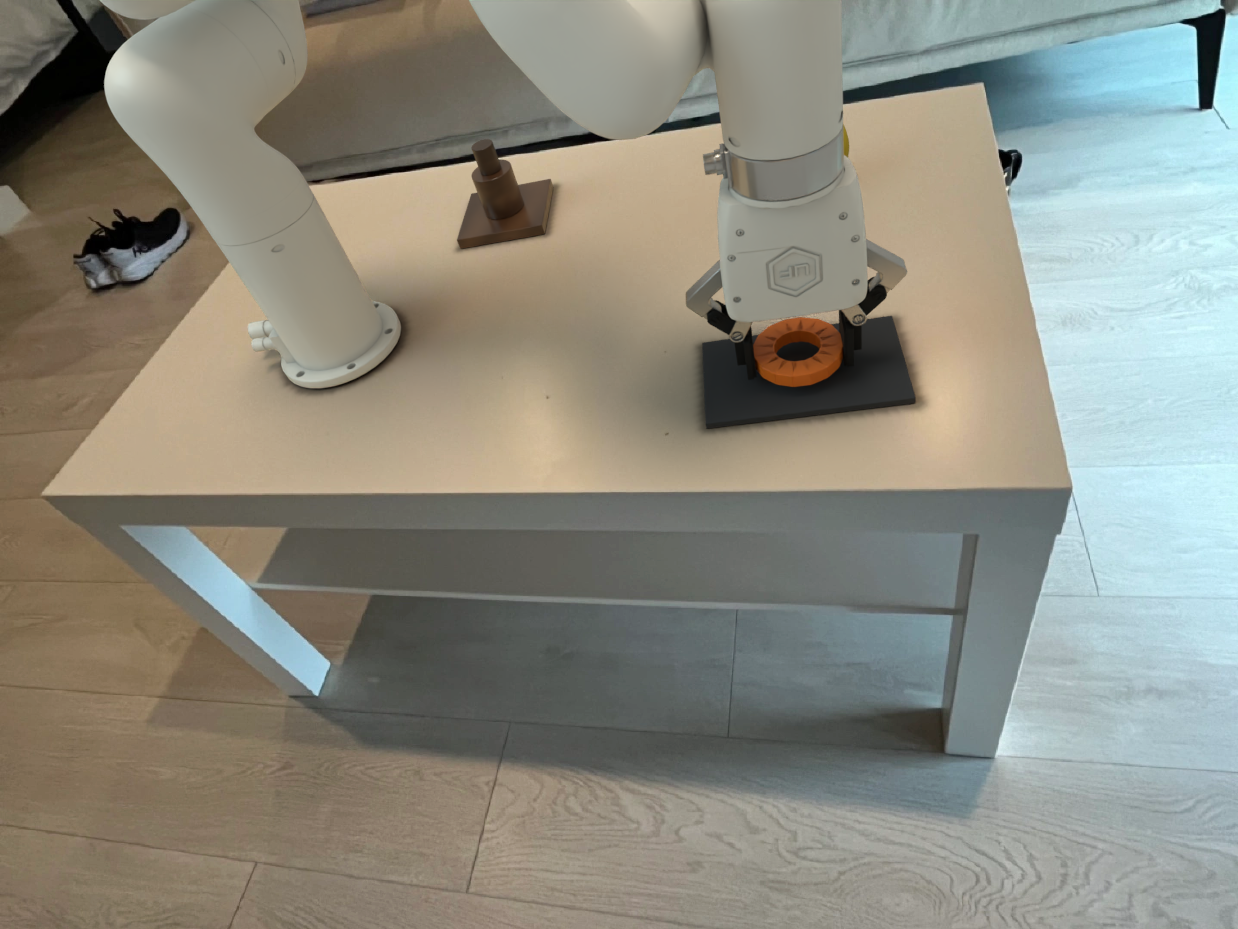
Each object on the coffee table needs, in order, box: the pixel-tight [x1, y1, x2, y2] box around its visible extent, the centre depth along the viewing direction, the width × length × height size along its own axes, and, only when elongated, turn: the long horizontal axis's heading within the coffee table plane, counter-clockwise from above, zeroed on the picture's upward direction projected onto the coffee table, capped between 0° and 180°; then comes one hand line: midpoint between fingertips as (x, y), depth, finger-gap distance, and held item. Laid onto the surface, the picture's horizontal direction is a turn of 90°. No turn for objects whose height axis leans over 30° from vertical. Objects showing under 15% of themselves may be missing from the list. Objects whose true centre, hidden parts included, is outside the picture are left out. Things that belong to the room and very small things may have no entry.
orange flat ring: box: [753, 316, 843, 387], centre depth 65 cm, size 7×7×1 cm
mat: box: [701, 315, 917, 429], centre depth 67 cm, size 16×10×1 cm, turn 88°
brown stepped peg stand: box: [456, 138, 554, 250], centre depth 91 cm, size 10×10×9 cm
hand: (798, 360), depth 66 cm, fingers closed on orange flat ring, 7 cm apart
